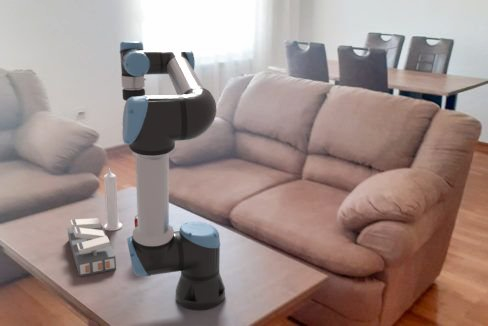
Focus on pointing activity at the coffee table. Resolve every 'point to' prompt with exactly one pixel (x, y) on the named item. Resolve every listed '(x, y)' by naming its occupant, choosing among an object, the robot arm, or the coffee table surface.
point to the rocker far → (85, 223)
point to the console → (91, 256)
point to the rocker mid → (88, 233)
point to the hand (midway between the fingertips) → (136, 154)
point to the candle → (111, 202)
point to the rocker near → (93, 244)
